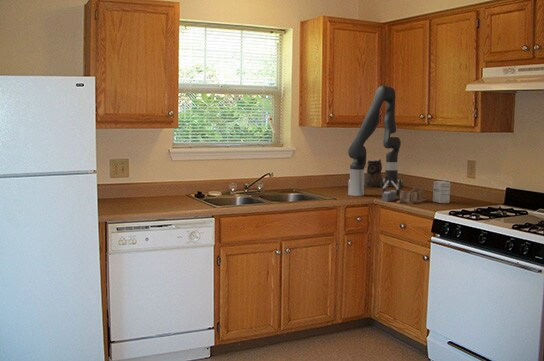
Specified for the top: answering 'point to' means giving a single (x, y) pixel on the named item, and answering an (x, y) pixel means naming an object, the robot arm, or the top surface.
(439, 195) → the supplement box
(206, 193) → the top surface
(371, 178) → the owl
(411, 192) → the display stand
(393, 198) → the frame bar
